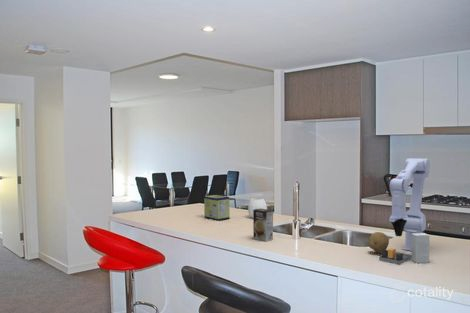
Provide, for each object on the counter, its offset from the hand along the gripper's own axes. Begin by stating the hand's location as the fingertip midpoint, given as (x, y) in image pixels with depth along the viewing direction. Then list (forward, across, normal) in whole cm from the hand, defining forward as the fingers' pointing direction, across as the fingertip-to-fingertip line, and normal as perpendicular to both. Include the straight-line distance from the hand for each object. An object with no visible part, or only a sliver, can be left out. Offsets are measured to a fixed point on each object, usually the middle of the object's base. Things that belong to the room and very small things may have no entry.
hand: (398, 235), depth 180 cm
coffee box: (+10, -15, +67) cm, 69 cm away
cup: (+10, +30, +112) cm, 116 cm away
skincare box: (+10, +1, -9) cm, 14 cm away
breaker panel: (+10, -3, 0) cm, 10 cm away
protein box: (+10, +9, +131) cm, 132 cm away
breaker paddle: (+8, -7, 0) cm, 11 cm away
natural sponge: (+10, +1, +10) cm, 14 cm away
